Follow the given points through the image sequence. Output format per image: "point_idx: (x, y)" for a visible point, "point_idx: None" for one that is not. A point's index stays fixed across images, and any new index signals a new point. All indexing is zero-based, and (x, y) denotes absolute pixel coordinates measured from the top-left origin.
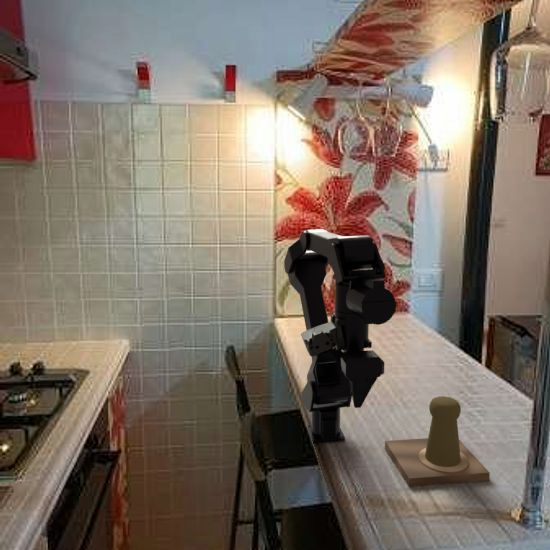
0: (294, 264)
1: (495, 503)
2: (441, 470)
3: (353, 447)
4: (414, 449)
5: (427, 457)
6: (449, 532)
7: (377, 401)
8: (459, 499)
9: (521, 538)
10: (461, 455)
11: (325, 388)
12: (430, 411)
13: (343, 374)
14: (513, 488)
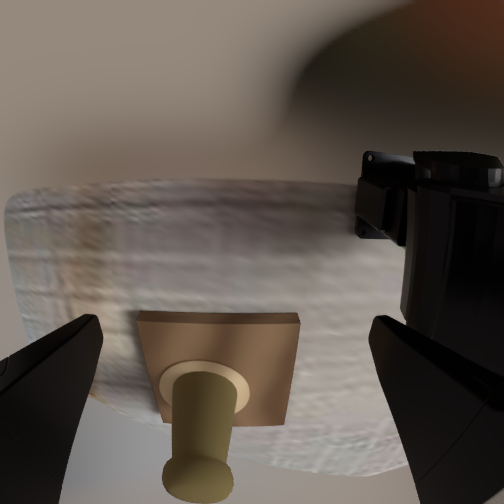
0: None
1: (110, 394)
2: (161, 377)
3: (319, 246)
4: (249, 364)
5: (198, 375)
6: (38, 316)
7: None
8: (112, 363)
9: None
10: None
11: (438, 229)
12: (194, 461)
13: (406, 367)
14: (148, 423)
